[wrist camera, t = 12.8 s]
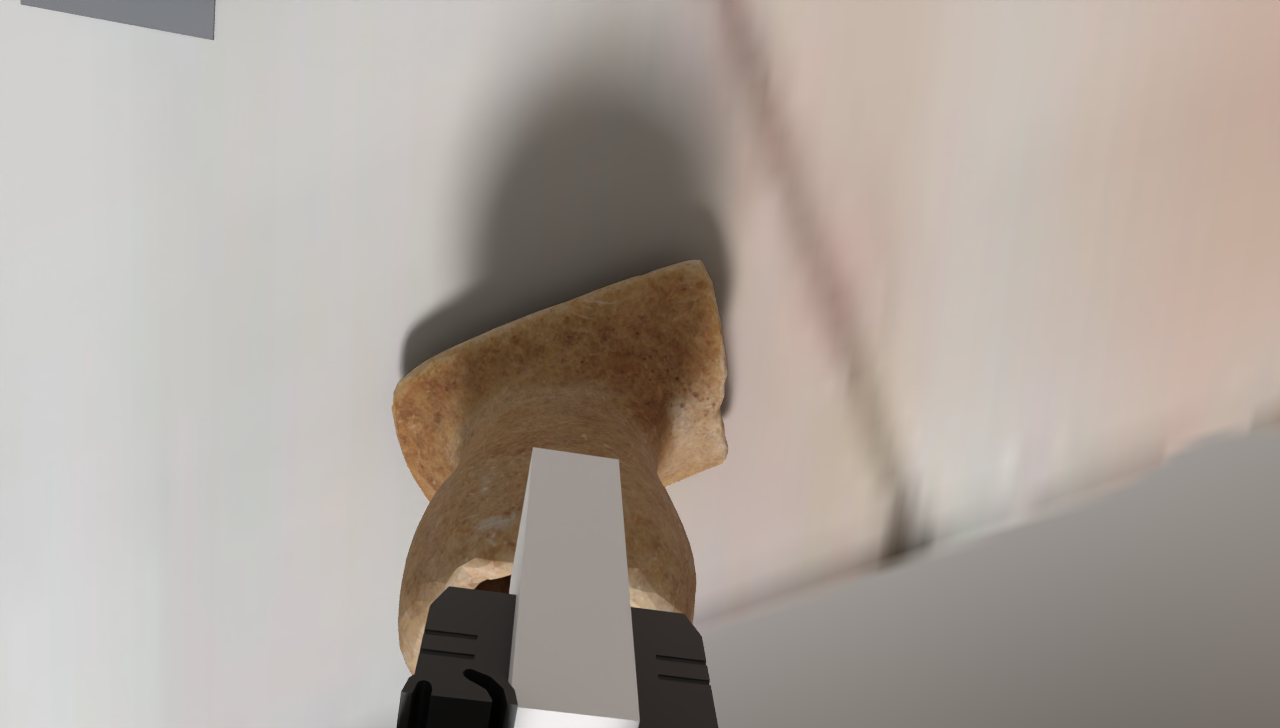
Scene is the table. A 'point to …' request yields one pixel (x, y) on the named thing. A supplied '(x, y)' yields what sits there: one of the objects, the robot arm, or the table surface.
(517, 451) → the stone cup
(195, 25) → the pad
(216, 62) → the table surface
